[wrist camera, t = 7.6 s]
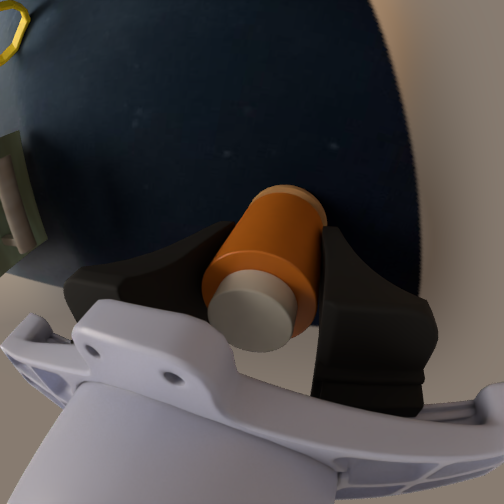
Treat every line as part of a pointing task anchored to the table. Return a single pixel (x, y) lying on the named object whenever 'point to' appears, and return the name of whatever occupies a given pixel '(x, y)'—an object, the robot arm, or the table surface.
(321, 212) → the tan round disc
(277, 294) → the pill bottle
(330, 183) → the table surface
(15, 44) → the watch
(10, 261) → the drawer
